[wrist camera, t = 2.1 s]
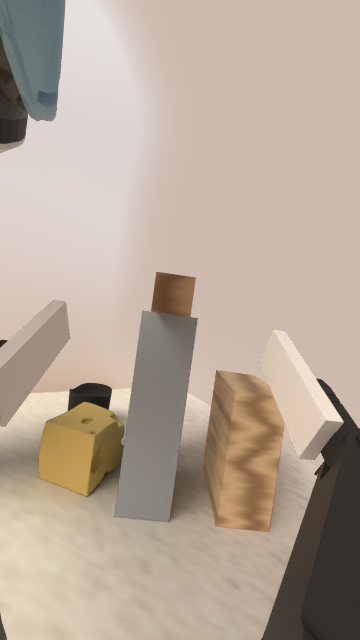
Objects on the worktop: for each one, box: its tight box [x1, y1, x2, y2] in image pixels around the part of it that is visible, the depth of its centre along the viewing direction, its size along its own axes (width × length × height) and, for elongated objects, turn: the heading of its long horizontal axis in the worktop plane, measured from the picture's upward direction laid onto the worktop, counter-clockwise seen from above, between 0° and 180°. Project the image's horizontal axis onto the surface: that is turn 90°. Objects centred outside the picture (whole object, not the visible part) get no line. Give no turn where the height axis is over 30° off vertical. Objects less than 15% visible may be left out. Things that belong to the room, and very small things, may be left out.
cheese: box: [38, 402, 124, 496], centre depth 43 cm, size 10×11×10 cm
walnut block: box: [151, 272, 196, 317], centre depth 36 cm, size 4×25×4 cm, turn 3°
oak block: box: [203, 370, 285, 531], centre depth 42 cm, size 8×14×20 cm, turn 3°
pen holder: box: [68, 383, 112, 411], centre depth 56 cm, size 9×9×10 cm
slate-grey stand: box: [114, 311, 198, 522], centre depth 41 cm, size 8×14×30 cm, turn 3°
